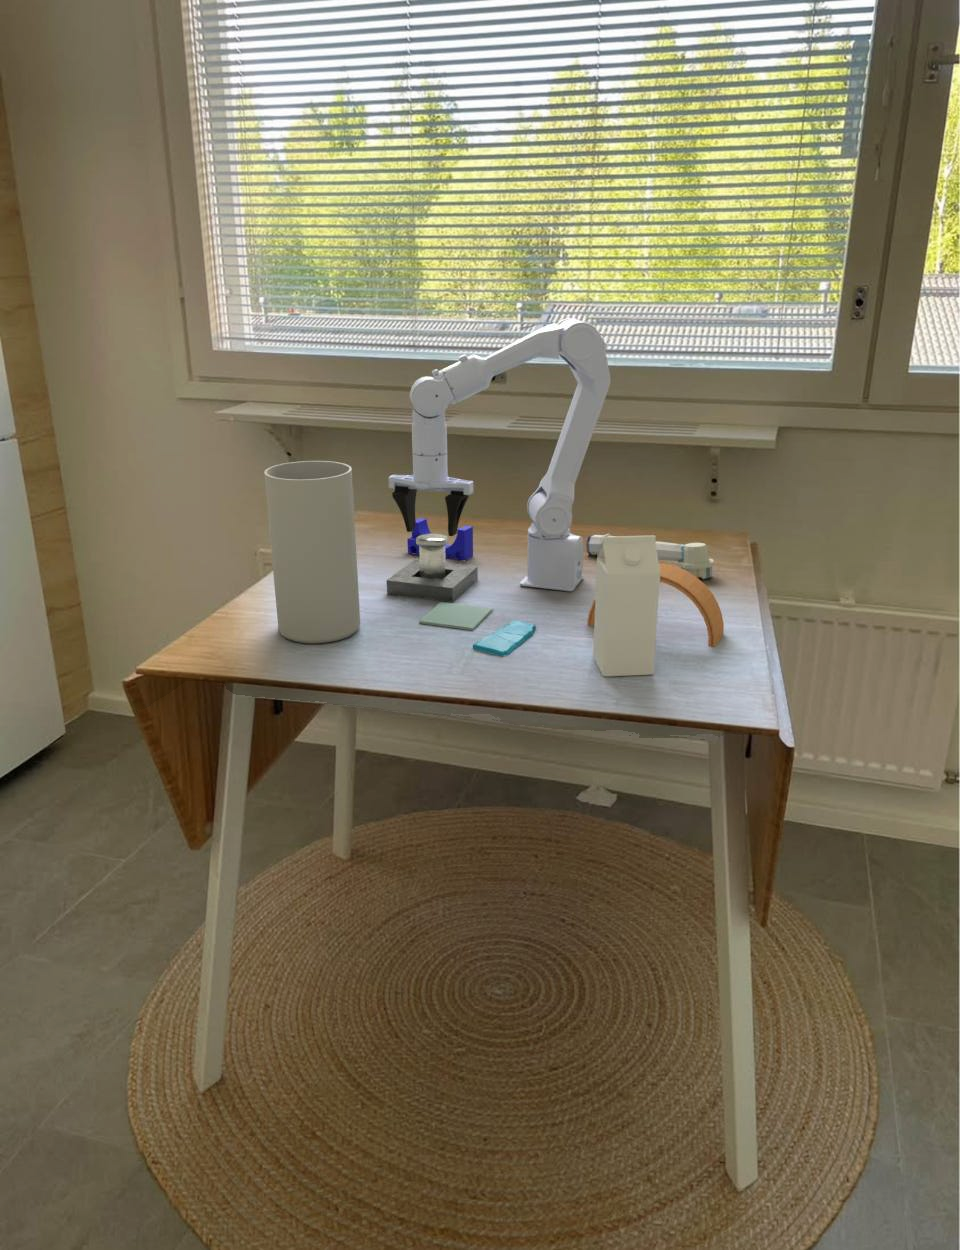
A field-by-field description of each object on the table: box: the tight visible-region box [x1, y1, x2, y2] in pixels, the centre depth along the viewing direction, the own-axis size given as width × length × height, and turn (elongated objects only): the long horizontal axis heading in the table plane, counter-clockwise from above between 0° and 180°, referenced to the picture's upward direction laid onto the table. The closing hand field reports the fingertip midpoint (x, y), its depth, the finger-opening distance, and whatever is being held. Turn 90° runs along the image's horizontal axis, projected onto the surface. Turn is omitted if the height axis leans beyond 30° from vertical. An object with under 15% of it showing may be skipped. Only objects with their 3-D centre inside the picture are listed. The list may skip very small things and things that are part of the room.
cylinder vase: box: [263, 460, 361, 645], centre depth 144 cm, size 12×12×25 cm
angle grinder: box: [585, 533, 715, 580], centre depth 177 cm, size 5×7×25 cm
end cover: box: [416, 533, 449, 580], centre depth 165 cm, size 5×5×9 cm
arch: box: [586, 562, 725, 648], centre depth 147 cm, size 6×20×10 cm, turn 63°
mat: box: [419, 601, 493, 631], centre depth 154 cm, size 9×9×1 cm
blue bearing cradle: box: [407, 517, 474, 561], centre depth 183 cm, size 12×4×6 cm, turn 58°
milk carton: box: [592, 535, 661, 677], centre depth 132 cm, size 7×7×19 cm
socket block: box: [385, 559, 479, 603], centre depth 167 cm, size 12×12×2 cm
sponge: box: [472, 619, 537, 657], centre depth 145 cm, size 2×12×6 cm
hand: (431, 532), depth 163 cm, fingers open, 7 cm apart
